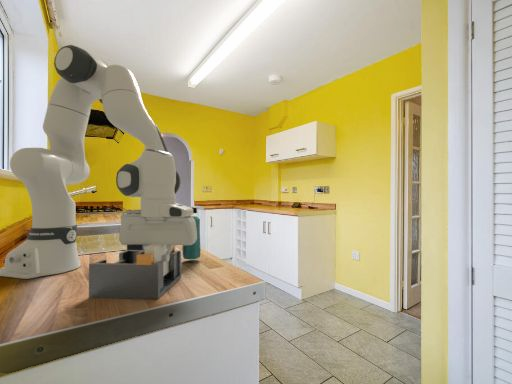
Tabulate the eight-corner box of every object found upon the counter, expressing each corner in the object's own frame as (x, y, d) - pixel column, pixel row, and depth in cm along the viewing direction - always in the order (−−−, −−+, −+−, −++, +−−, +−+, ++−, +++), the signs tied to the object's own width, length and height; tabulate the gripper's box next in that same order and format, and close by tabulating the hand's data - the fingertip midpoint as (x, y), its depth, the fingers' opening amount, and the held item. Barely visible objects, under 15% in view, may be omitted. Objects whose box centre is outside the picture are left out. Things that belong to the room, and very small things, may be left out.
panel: (144, 283, 60) (144, 247, 60) (162, 270, 70) (162, 239, 70) (154, 283, 60) (154, 247, 60) (170, 270, 70) (170, 239, 70)
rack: (88, 297, 58) (89, 254, 59) (125, 276, 73) (125, 241, 74) (158, 299, 58) (158, 255, 58) (180, 277, 73) (181, 242, 73)
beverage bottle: (204, 260, 92) (204, 207, 92) (192, 264, 86) (192, 207, 86) (190, 258, 95) (190, 206, 95) (178, 262, 89) (178, 207, 89)
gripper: (113, 210, 63) (113, 264, 63) (191, 210, 62) (191, 265, 62) (127, 208, 69) (127, 257, 69) (198, 208, 68) (198, 258, 68)
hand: (158, 261), depth 65 cm, fingers closed on panel, 2 cm apart
